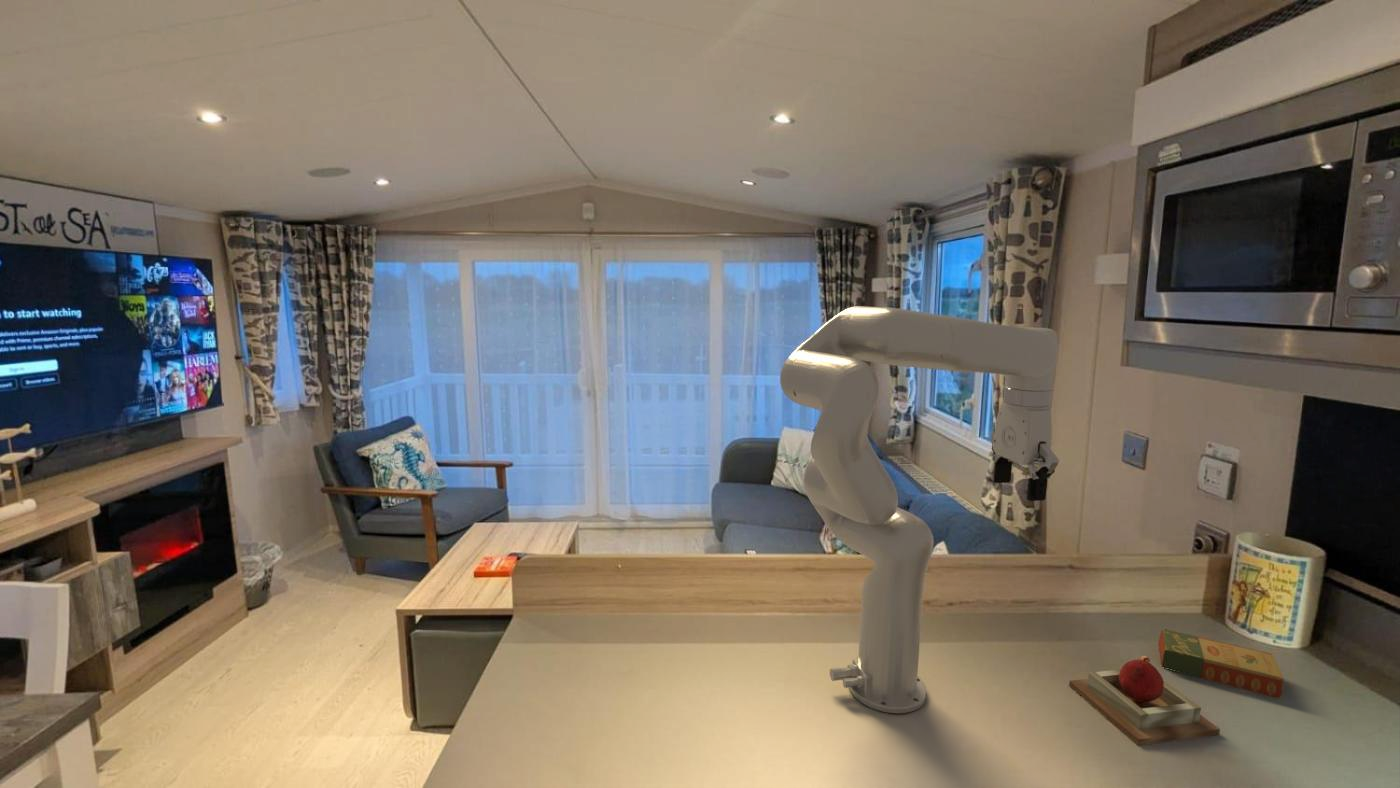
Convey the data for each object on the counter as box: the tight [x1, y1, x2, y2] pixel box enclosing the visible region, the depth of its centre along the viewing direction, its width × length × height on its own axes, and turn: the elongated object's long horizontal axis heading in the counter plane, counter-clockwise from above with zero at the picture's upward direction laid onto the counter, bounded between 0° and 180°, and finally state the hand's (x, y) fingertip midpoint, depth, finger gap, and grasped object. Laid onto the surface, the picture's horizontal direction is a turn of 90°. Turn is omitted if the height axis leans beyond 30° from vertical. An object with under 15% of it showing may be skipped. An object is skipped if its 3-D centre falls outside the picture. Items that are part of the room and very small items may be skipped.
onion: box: [1119, 655, 1164, 703], centre depth 101 cm, size 6×6×8 cm
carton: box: [1157, 628, 1284, 700], centre depth 111 cm, size 8×16×4 cm, turn 58°
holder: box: [1068, 668, 1221, 746], centre depth 101 cm, size 14×14×4 cm
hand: (1018, 490), depth 114 cm, fingers open, 9 cm apart
